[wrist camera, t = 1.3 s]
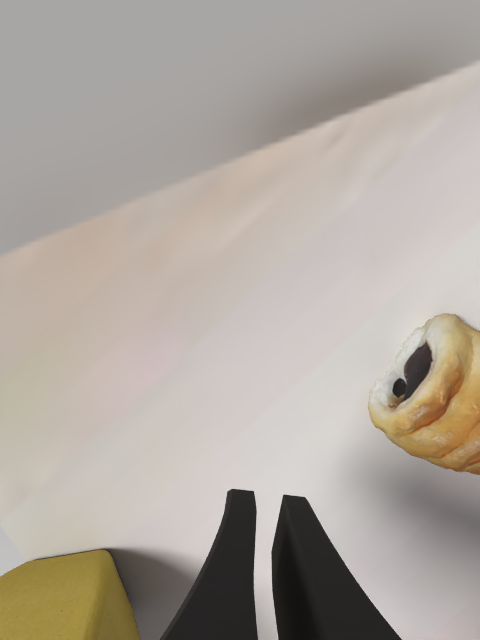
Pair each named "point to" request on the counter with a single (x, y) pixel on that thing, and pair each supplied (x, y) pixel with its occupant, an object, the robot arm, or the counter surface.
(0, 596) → the flower pot
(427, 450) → the pastry
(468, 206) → the counter surface
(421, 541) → the counter surface
